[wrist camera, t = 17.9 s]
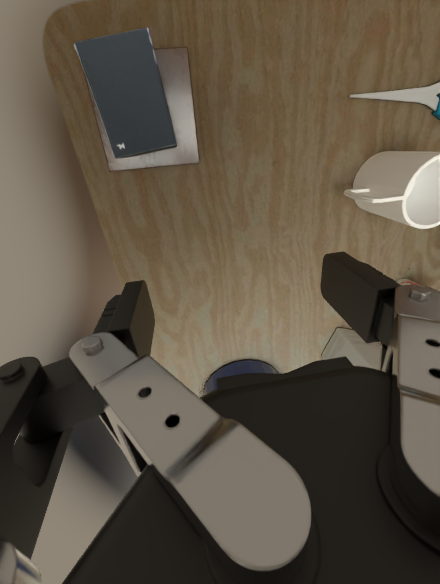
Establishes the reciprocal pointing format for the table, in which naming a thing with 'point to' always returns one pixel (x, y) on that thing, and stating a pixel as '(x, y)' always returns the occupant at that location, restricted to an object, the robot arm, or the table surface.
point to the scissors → (410, 96)
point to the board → (181, 111)
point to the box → (128, 92)
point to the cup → (400, 187)
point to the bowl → (238, 372)
